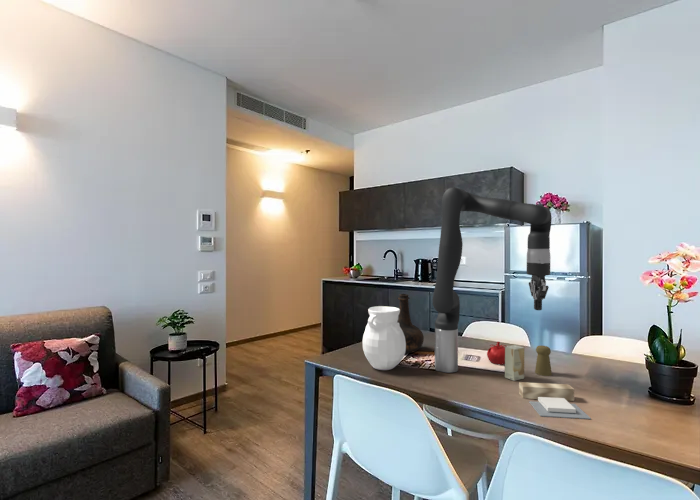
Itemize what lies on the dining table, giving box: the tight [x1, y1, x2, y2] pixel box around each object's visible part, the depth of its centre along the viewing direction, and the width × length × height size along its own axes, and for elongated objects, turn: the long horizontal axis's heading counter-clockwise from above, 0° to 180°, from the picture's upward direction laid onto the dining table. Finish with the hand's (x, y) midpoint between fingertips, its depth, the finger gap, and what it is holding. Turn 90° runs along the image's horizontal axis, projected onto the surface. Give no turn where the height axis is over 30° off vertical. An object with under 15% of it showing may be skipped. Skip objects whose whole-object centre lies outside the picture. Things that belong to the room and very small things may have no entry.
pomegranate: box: [486, 341, 508, 366], centre depth 158 cm, size 10×10×9 cm
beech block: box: [518, 381, 575, 402], centre depth 121 cm, size 16×4×4 cm, turn 82°
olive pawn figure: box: [534, 345, 553, 377], centre depth 144 cm, size 6×6×11 cm
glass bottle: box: [397, 293, 425, 354], centre depth 177 cm, size 18×18×28 cm
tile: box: [537, 397, 576, 413], centre depth 113 cm, size 8×3×8 cm
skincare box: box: [504, 344, 525, 382], centre depth 139 cm, size 6×4×12 cm
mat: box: [528, 400, 592, 420], centre depth 111 cm, size 14×10×1 cm
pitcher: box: [361, 305, 406, 371], centre depth 153 cm, size 19×18×25 cm
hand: (537, 309), depth 128 cm, fingers closed
